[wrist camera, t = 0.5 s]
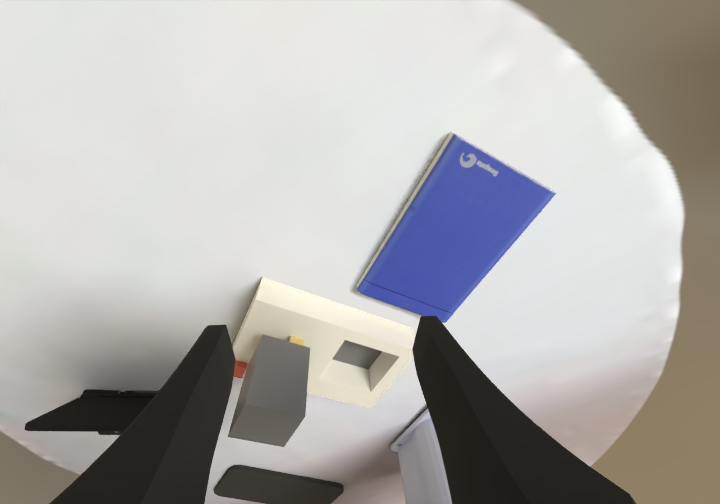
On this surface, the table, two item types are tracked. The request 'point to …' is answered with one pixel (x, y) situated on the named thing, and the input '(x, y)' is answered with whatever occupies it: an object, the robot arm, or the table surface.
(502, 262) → the table surface
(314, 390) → the socket plate
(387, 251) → the hard drive
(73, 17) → the table surface
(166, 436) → the robot arm
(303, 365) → the plug
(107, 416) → the handheld gaming console
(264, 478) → the phone
